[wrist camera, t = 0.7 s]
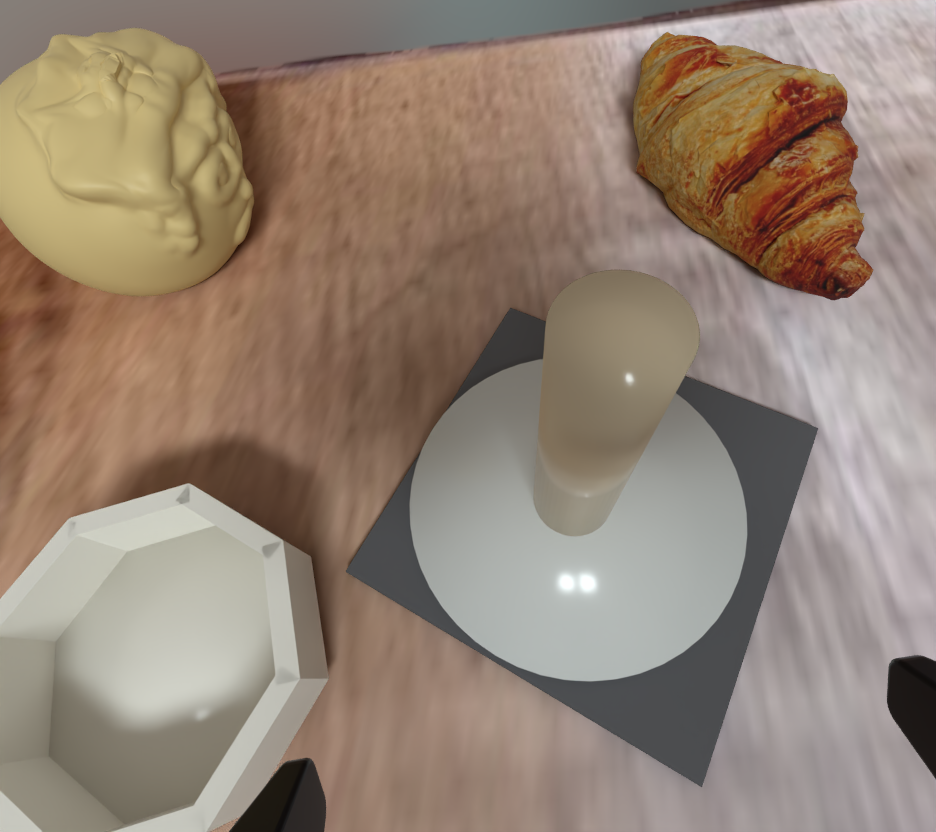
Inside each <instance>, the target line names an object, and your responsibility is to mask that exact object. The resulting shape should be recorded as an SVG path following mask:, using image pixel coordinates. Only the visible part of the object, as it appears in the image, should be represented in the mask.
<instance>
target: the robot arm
mask: <svg viewBox="0 0 936 832" xmlns="http://www.w3.org/2000/svg"><path fill="white" fill-rule="evenodd" d="M887 704H888V708H889V711H890V713H891V715H892V717H893V719H894V720H895V722H896V723H897V725H898V726H899V728H900V729H901V730H902V732H903V733H904V735H905V736H906V737H907V739H908V740H909V742H910V743H911V745H912V746H913V747H914V749H915V750H916V752H917V753H918V755H919V756H920V757H921V759H922V760H923V762H924V763H925V764H926V766H927V767H928V769H929V770H930V772H931V773H932V774H933V776H934V777H935V779H936V661H934V660H932V659H929V658H927V657H924V656H920V655H914V656H908V657H902V658H896V659H893V660H892V661H891V663H890V664H889V672H888V689H887ZM325 819H326V800H325V795H324V792H323V789H322V786H321V783H320V779H319V776H318V773H317V770H316V767H315V764H314V762H313V761H312V759H310V758H303V759H297V760H291V761H287V762H285V763H284V764H283V765H281V767H280V768H279V769H278V770H277V771H276V773H275V774H274V775H273V777H272V778H271V779H270V780H269V782H268V783H267V784H266V785H265V787H264V788H263V789H262V790H261V792H260V793H259V794H258V795H257V797H256V798H255V799H254V801H253V802H252V803H251V804H250V806H249V807H248V808H247V809H246V811H245V812H244V813H243V814H242V816H241V817H240V818H239V820H238V821H237V822H236V823H235V825H234V826H233V827H232V828H231V830H230V831H229V832H324V828H325Z"/></svg>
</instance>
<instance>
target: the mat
mask: <svg viewBox="0 0 936 832" xmlns="http://www.w3.org/2000/svg"><path fill="white" fill-rule="evenodd" d="M545 326H546V322H545V321H543V320H540V319H538V318H535V317H533V316H530V315H528V314H525V313H522V312H520V311H517V310H515V309H512V308H510V310H509V311H508V313H507V314H506V316H505V318H504V319H503V321H502V322H501V324H500V325H499V327H498V329H497V330H496V332H495V333H494V335H493V337H492V338H491V340H490V341H489V343H488V345H487V346H486V348H485V349H484V351H483V353H482V354H481V356H480V357H479V359H478V361H477V362H476V364H475V365H474V367H473V369H472V370H471V372H470V373H469V375H468V377H467V378H466V380H465V381H464V383H463V385H462V386H461V388H460V389H459V391H458V393H457V394H456V396H455V397H454V399H453V401H452V402H451V404H450V405H449V407H448V409H449V408H450V407H451V405H452V404H453V403H454V402H455V401H456V400H457V399H459V398H460V397H461V396H462V395H463V394H465V393H466V392H467V391H468V390H469V389H470V388H472V387H474V386H475V385H477V384H478V383H480V382H481V381H483V380H484V379H486V378H488V377H490V376H492V375H494V374H496V373H498V372H500V371H502V370H505V369H508V368H510V367H513V366H516V365H519V364H522V363H527V362H531V361H535V360H540V359H543V354H544V340H545ZM676 394H678V395H679V396H680V397H682V398H683V399H684V400H686V401H687V402H688V403H689V404H690V405H691V406H692V407H693V408H694V409H695V410H696V411H697V412H698V413H699V414H700V415H701V416H702V417H703V418H704V419H705V420H706V422H707V423H708V424H709V425H710V426H711V428H712V429H713V430H714V431H715V433H716V434H717V436H718V437H719V439H720V441H721V442H722V444H723V445H724V447H725V448H726V450H727V452H728V454H729V456H730V458H731V460H732V463H733V465H734V467H735V469H736V471H737V475H738V478H739V481H740V484H741V487H742V490H743V495H744V501H745V507H746V512H747V542H746V552H745V558H744V562H743V566H742V570H741V574H740V577H739V580H738V583H737V585H736V587H735V589H734V592H733V594H732V596H731V599H730V600H729V602H728V604H727V605H726V607H725V608H724V610H723V612H722V613H721V615H720V616H719V618H718V619H717V620H716V622H715V623H714V624H713V625H712V626H711V627H710V628H709V630H708V631H707V632H706V633H705V634H704V635H703V636H702V637H701V638H700V639H699V640H698V641H696V642H695V643H694V644H693V645H692V646H690V647H689V648H688V649H687V650H686V651H684V652H683V653H681V654H680V655H678V656H676V657H675V658H673V659H671V660H670V661H668V662H666V663H665V664H663V665H660V666H658V667H655V668H653V669H650V670H648V671H645V672H643V673H640V674H636V675H632V676H628V677H624V678H619V679H614V680H602V681H574V680H562V679H557V678H552V677H547V676H542V675H539V674H536V673H533V672H530V671H527V670H524V669H521V668H519V667H516V666H514V665H512V664H510V663H509V662H507V661H505V660H503V659H501V658H499V657H497V656H495V655H494V654H492V653H491V652H489V651H488V650H487V649H485V648H484V647H482V646H481V645H479V644H478V643H476V642H475V641H474V640H473V639H472V638H471V637H470V636H469V635H468V634H466V633H465V632H464V631H463V630H462V629H461V628H460V627H459V626H458V625H457V624H456V623H455V622H454V621H453V619H452V618H451V617H450V616H449V615H448V613H447V612H446V611H445V610H444V609H443V607H442V606H441V605H440V603H439V601H438V600H437V598H436V597H435V595H434V593H433V592H432V590H431V589H430V587H429V585H428V583H427V581H426V578H425V576H424V574H423V572H422V570H421V568H420V565H419V561H418V558H417V555H416V552H415V548H414V545H413V539H412V533H411V527H410V495H411V485H412V480H413V476H414V472H415V467H416V464H417V461H418V459H419V456H420V453H421V452H420V453H419V455H418V457H417V458H416V460H415V461H414V463H413V465H412V466H411V468H410V469H409V471H408V473H407V474H406V476H405V477H404V479H403V481H402V482H401V484H400V485H399V487H398V489H397V490H396V492H395V493H394V495H393V497H392V498H391V500H390V501H389V503H388V505H387V506H386V508H385V509H384V511H383V513H382V514H381V516H380V517H379V519H378V521H377V522H376V524H375V525H374V527H373V529H372V530H371V532H370V533H369V535H368V537H367V538H366V540H365V541H364V543H363V545H362V546H361V548H360V549H359V551H358V552H357V554H356V556H355V557H354V559H353V560H352V562H351V564H350V565H349V567H348V568H347V570H346V572H347V573H349V574H350V575H352V576H354V577H355V578H357V579H359V580H360V581H362V582H364V583H365V584H367V585H369V586H370V587H372V588H373V589H375V590H377V591H378V592H380V593H382V594H383V595H385V596H387V597H388V598H390V599H392V600H393V601H395V602H397V603H398V604H400V605H402V606H403V607H405V608H407V609H408V610H410V611H411V612H413V613H415V614H416V615H418V616H420V617H421V618H423V619H425V620H426V621H428V622H430V623H431V624H433V625H435V626H436V627H438V628H440V629H441V630H443V631H445V632H446V633H448V634H450V635H451V636H453V637H454V638H456V639H458V640H459V641H461V642H463V643H464V644H466V645H468V646H469V647H471V648H473V649H474V650H476V651H478V652H479V653H481V654H483V655H484V656H486V657H488V658H489V659H491V660H492V661H494V662H496V663H497V664H499V665H501V666H502V667H504V668H506V669H507V670H509V671H511V672H512V673H514V674H516V675H517V676H519V677H521V678H522V679H524V680H526V681H527V682H529V683H531V684H532V685H534V686H535V687H537V688H539V689H540V690H542V691H544V692H545V693H547V694H549V695H550V696H552V697H554V698H555V699H557V700H559V701H560V702H562V703H564V704H565V705H567V706H569V707H570V708H572V709H573V710H575V711H577V712H578V713H580V714H582V715H583V716H585V717H587V718H588V719H590V720H592V721H593V722H595V723H597V724H598V725H600V726H602V727H603V728H605V729H607V730H608V731H610V732H612V733H613V734H615V735H616V736H618V737H620V738H621V739H623V740H625V741H626V742H628V743H630V744H631V745H633V746H635V747H636V748H638V749H640V750H641V751H643V752H645V753H646V754H648V755H650V756H651V757H653V758H654V759H656V760H658V761H659V762H661V763H663V764H664V765H666V766H668V767H669V768H671V769H673V770H674V771H676V772H678V773H679V774H681V775H683V776H684V777H686V778H688V779H689V780H691V781H693V782H694V783H696V784H697V785H699V786H701V787H702V785H703V782H704V779H705V776H706V773H707V770H708V766H709V763H710V760H711V757H712V754H713V751H714V748H715V745H716V742H717V739H718V736H719V733H720V729H721V726H722V723H723V720H724V717H725V714H726V711H727V708H728V705H729V702H730V699H731V696H732V692H733V689H734V686H735V683H736V680H737V677H738V674H739V671H740V668H741V665H742V662H743V659H744V655H745V652H746V649H747V646H748V643H749V640H750V637H751V634H752V631H753V628H754V625H755V622H756V618H757V615H758V612H759V609H760V606H761V603H762V600H763V597H764V594H765V591H766V588H767V585H768V581H769V578H770V575H771V572H772V569H773V566H774V563H775V560H776V557H777V554H778V551H779V548H780V544H781V541H782V538H783V535H784V532H785V529H786V526H787V523H788V520H789V517H790V514H791V511H792V507H793V504H794V501H795V498H796V495H797V492H798V489H799V486H800V483H801V480H802V477H803V474H804V470H805V467H806V464H807V461H808V458H809V455H810V452H811V449H812V446H813V443H814V440H815V437H816V433H817V430H818V428H816V427H814V426H811V425H808V424H806V423H803V422H801V421H798V420H796V419H793V418H791V417H788V416H786V415H783V414H780V413H778V412H775V411H773V410H770V409H768V408H765V407H763V406H760V405H757V404H755V403H752V402H750V401H747V400H745V399H742V398H740V397H737V396H734V395H732V394H729V393H727V392H724V391H722V390H719V389H717V388H714V387H711V386H709V385H706V384H704V383H701V382H699V381H696V380H694V379H691V378H688V377H686V376H685V377H684V379H683V380H682V382H681V384H680V386H679V388H678V390H677V391H676ZM448 409H447V410H448ZM447 410H446V411H447ZM421 451H422V450H421Z"/></svg>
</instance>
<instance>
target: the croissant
mask: <svg viewBox="0 0 936 832" xmlns="http://www.w3.org/2000/svg"><path fill="white" fill-rule="evenodd" d="M847 103H848V100H847V92H846V90H845V88H844V87H843V85H842V84H841V83H840V82H839V81H838V79H837V78H836V77H835V75H834V74H831V75H830V74H825V73H822V72H819V71H818V70H816V69H808V68H805V67H801V66H796V65H790V64H783V63H782V62H780V61H776V60H774V59H772V58H770V57H768V56H766V55H764V54H761V53H759V52H756V51H753V50H750V49H747V48H743V47H739V46H718V45H716V44H715V43H714V42H712V41H711V40H708V39H706V38H704V37H698V36H688V35H677V36H675V35H672V34H670V33H668V32H666V33H665V34H663V35H662V36H661V37H660V38H659V39H657V40H656V41H655V42H654V43H652V45H651V47H650V49H649V50H648V51H647V53H646V54H645V55H644V57H643V59H642V61H641V73H640V81H639V85H638V89H637V92H636V96H635V99H634V103H633V114H634V117H633V122H634V132H635V136H636V139H637V143H638V149H639V153H640V156H639V159H638V163H637V173H639V174H640V175H641V176H643V177H645V178H647V179H648V180H649V181H650V182H651V183H653V184H654V185H655V186H656V187H658V188H659V189H660V190H661V191H662V192H664V196H665V199H666V201H667V203H668V206H669V208H670V209H672V211H673V212H674V213H675V214H676V215H677V216H678V217H679V218H680V219H681V220H682V221H683V222H684V223H685V224H686V225H687V226H689V227H691V228H692V229H694V230H695V231H696V232H698V233H700V234H702V235H705V236H707V237H709V238H710V239H712V240H714V241H715V242H716V243H718V244H719V245H720V246H721V247H722V248H724V249H726V250H728V251H730V252H732V253H734V254H736V255H737V256H739V257H740V258H741V259H742V260H744V261H745V262H747V263H748V264H749V265H751V266H753V267H755V268H757V269H758V270H759V271H760V273H762V274H763V275H764V276H765V277H767V278H769V279H770V280H772V281H774V282H776V283H778V284H781V285H783V286H786V287H789V288H792V289H796V290H800V291H803V292H806V293H810V294H814V295H818V296H822V297H825V298H828V299H830V300H837V299H840V298H848V297H850V296H851V295H852V294H854V293H855V292H856V291H857V290H858V289H859V288H860V287H862V286H863V285H864V284H865V282H866V281H867V280H869V279H870V276H871V274H872V272H873V269H872V267H871V266H870V265H869V264H868V263H867V262H866V261H865V260H864V259H863V258H861V256H860V255H859V253H858V252H857V250H856V249H855V247H856V246H857V244H858V241H859V239H860V237H861V234H862V232H863V231H864V226H863V224H862V219H863V216H864V213H860V211H859V209H858V207H857V204H856V200H855V197H856V194H857V191H856V190H855V189H854V187H853V186H852V184H851V182H850V180H849V178H850V176H851V174H852V170H853V164H854V160H855V159H857V158H858V153H857V152H858V146H857V145H855V143H854V141H853V139H852V137H851V136H850V135H849V132H848V131H847V130H846V129H845V128H844V127H843V125H842V123H841V121H842V118H843V116H844V115H845V113H846V111H847Z"/></svg>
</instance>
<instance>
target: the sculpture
mask: <svg viewBox="0 0 936 832" xmlns="http://www.w3.org/2000/svg"><path fill="white" fill-rule="evenodd" d="M226 108H227V107H226V102H225V100H224V98H223V97H222V96H221V94H220V91H219V89H218V86H217V81H216V78H215V76H214V74H213V72H212V70H211V68H210V67H209V65H208V64H207V62H206V61H205V59H204V58H203V57H202V56H201V55H200V54H199V53H197V52H196V51H194V50H193V49H191V48H188V47H186V46H181V45H178V44H175V43H174V42H172V41H171V40H169V39H168V38H166V37H164V36H162V35H159V34H157V33H154V32H151V31H148V30H145V29H140V28H129V29H123V30H119V31H116V32H109V33H106V32H98V33H95V34H93V35H91V36H90V37H82V36H74V35H66V34H60V35H55V36H53V37H52V39H51V41H50V44H49V47H48V49H47V51H45V52H44V53H43V54H42V55H41V56H40V57H39V58H38V59H36V60H34V61H32V62H30V63H28V64H26V65H24V66H23V67H21V68H19V69H18V70H17V71H15V72H14V73H13V74H11V75H10V76H9V77H8V78H7V79H6V80H5V81H3V82H2V84H1V85H0V217H1V219H2V220H3V222H4V223H5V225H6V226H7V227H8V229H9V230H10V231H11V232H12V234H13V235H14V236H15V237H16V238H17V239H18V240H19V241H20V243H21V244H22V245H23V246H24V247H25V248H27V249H28V250H29V251H30V252H31V253H32V254H33V255H34V256H36V257H37V258H38V259H40V260H41V261H42V262H44V263H45V264H46V265H48V266H49V267H51V268H52V269H54V270H56V271H57V272H59V273H61V274H63V275H64V276H66V277H68V278H70V279H72V280H75V281H77V282H79V283H81V284H84V285H86V286H89V287H92V288H95V289H98V290H101V291H105V292H109V293H114V294H119V295H126V296H155V295H163V294H168V293H173V292H176V291H180V290H183V289H186V288H189V287H191V286H194V285H196V284H198V283H200V282H202V281H204V280H205V279H207V278H209V277H210V276H212V275H213V274H214V273H215V272H217V271H218V270H219V269H220V268H221V267H222V266H223V265H224V264H225V263H226V262H227V260H228V259H229V258H230V257H231V255H232V254H233V252H234V251H235V249H236V247H237V246H238V245H239V244H240V243H242V242H243V241H244V239H245V237H246V235H247V232H248V230H249V227H250V221H251V215H252V208H253V205H254V196H253V187H252V184H251V183H250V181H249V180H248V179H247V178H246V175H245V172H244V169H243V166H242V165H243V159H242V147H241V143H240V139H239V136H238V134H237V131H236V129H235V126H234V124H233V121H232V119H231V117H230V116H229V114H228V113H227V112H226Z"/></svg>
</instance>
